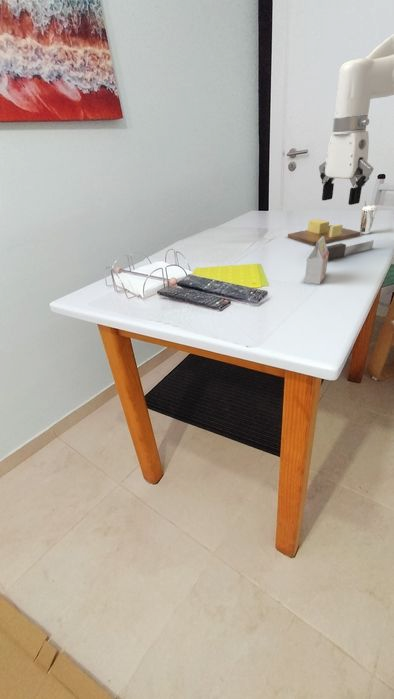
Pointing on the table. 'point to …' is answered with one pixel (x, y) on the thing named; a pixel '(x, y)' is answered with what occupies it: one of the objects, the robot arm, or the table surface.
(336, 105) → the robot arm
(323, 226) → the butter block
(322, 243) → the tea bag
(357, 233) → the board
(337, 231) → the butter slice
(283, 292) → the table surface
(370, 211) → the milkshake
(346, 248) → the knife
